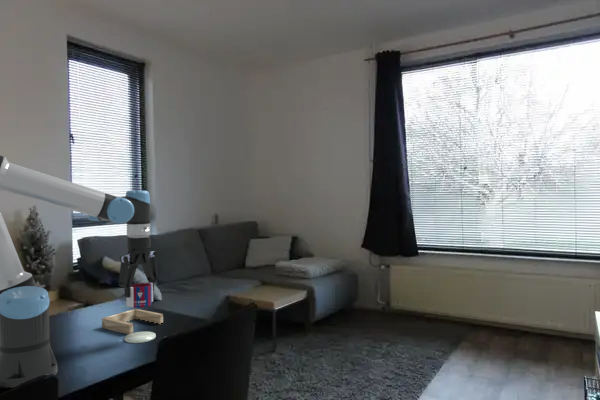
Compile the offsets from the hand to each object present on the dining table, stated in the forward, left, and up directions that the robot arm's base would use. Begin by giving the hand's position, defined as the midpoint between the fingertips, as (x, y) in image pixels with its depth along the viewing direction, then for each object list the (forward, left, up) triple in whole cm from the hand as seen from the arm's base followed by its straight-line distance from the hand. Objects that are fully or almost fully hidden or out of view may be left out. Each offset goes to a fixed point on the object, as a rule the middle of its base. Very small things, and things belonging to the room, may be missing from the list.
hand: (140, 303), depth 152 cm
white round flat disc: (0, 0, -12) cm, 12 cm away
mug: (+1, 0, -1) cm, 1 cm away
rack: (+8, +14, -12) cm, 19 cm away
